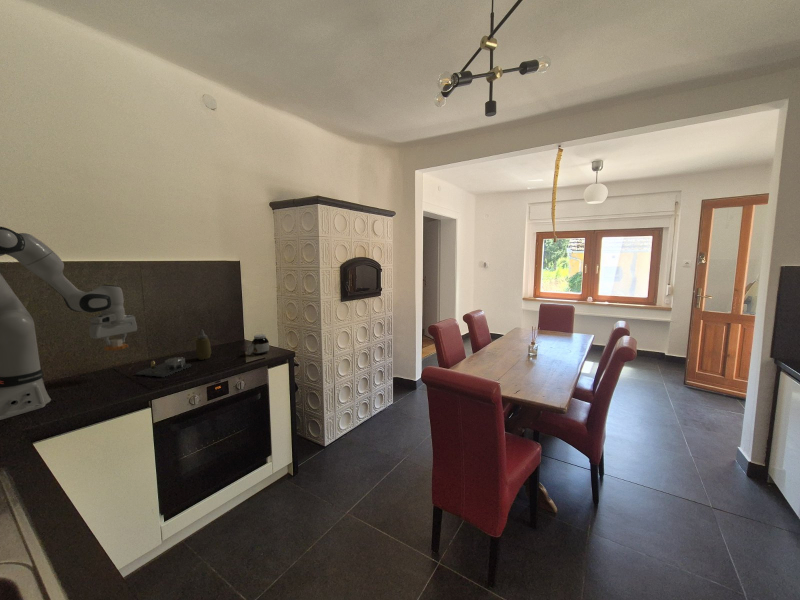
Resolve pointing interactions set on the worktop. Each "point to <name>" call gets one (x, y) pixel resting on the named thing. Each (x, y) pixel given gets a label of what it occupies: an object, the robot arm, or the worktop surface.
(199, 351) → the squeeze bottle
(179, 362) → the carrier
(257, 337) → the spread jar
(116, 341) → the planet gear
